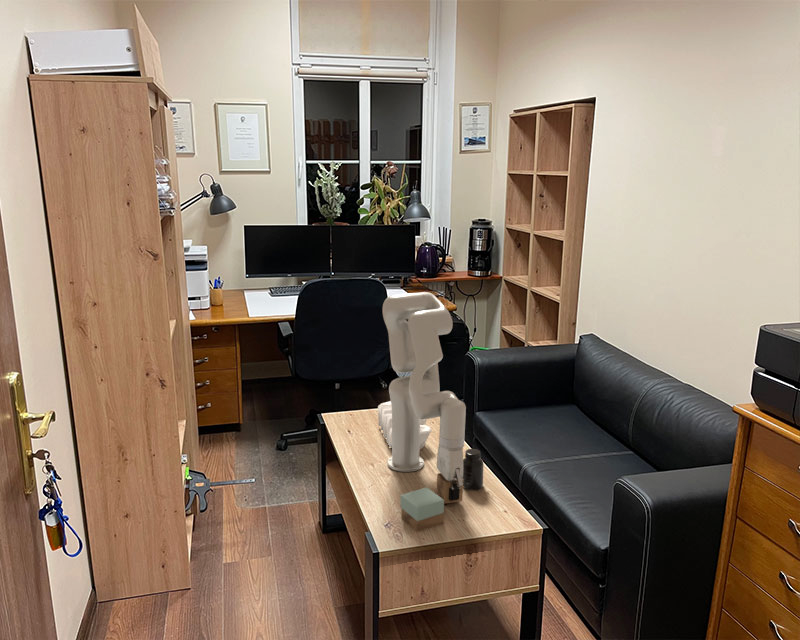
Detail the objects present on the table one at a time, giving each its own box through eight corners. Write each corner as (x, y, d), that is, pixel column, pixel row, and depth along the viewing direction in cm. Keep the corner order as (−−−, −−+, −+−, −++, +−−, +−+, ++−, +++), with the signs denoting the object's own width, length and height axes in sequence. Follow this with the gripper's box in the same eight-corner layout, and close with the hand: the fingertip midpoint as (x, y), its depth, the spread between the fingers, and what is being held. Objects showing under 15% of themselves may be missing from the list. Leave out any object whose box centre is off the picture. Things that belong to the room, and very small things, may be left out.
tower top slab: (400, 507, 190) (400, 494, 189) (426, 499, 194) (426, 487, 193) (417, 521, 182) (417, 508, 181) (443, 512, 187) (444, 499, 186)
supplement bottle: (469, 479, 215) (470, 445, 213) (486, 485, 211) (488, 450, 209) (457, 486, 210) (458, 452, 208) (475, 493, 206) (476, 457, 203)
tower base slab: (401, 518, 191) (401, 506, 190) (427, 511, 196) (427, 498, 195) (417, 533, 184) (417, 520, 183) (443, 524, 188) (444, 512, 187)
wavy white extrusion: (375, 420, 267) (375, 396, 264) (415, 418, 269) (415, 394, 267) (388, 456, 233) (388, 428, 231) (433, 453, 236) (434, 425, 233)
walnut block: (436, 494, 202) (437, 473, 200) (454, 491, 204) (455, 470, 202) (444, 503, 197) (445, 482, 195) (462, 500, 199) (463, 479, 197)
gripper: (429, 430, 202) (427, 483, 207) (451, 454, 187) (449, 510, 191) (451, 427, 205) (449, 479, 209) (475, 450, 189) (472, 506, 193)
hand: (449, 493), depth 200 cm, fingers closed on walnut block, 6 cm apart
